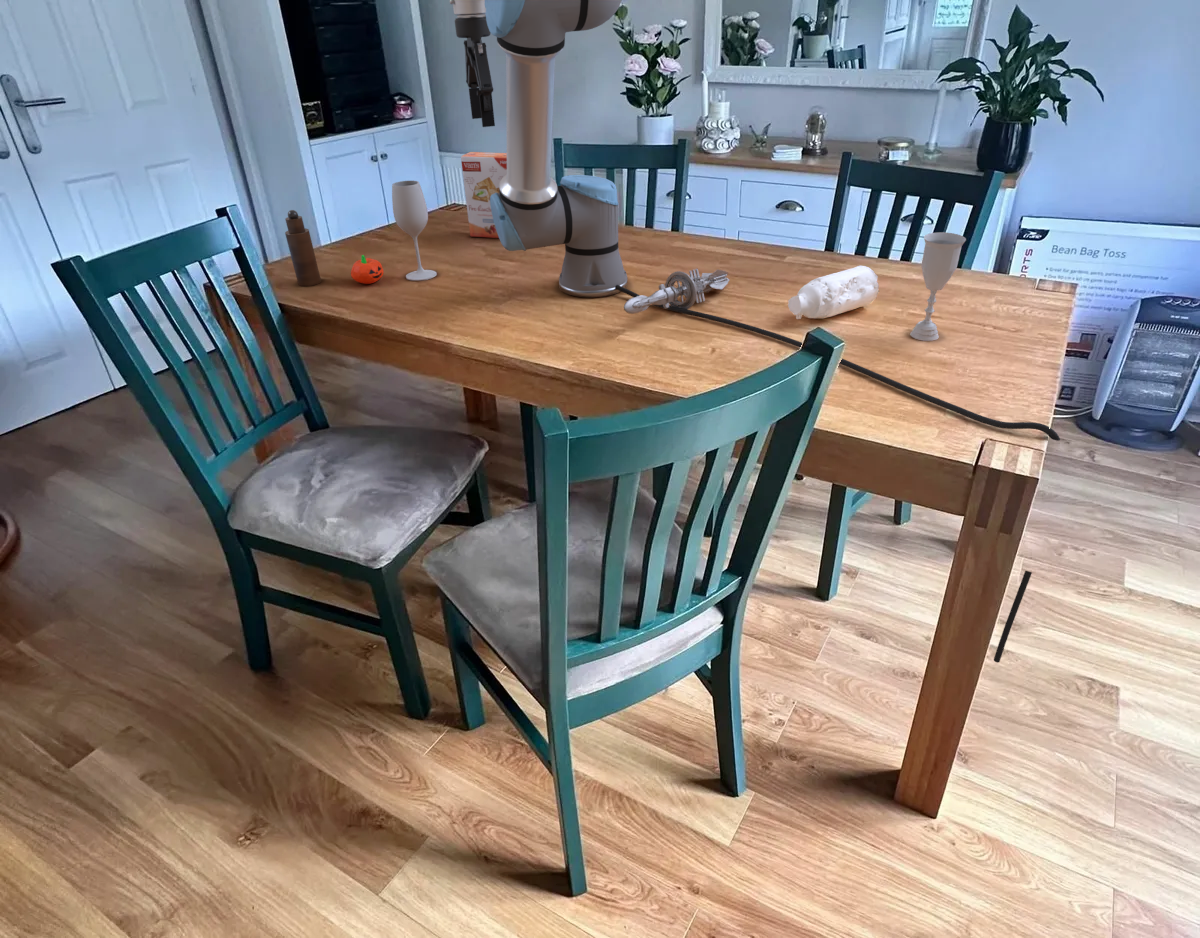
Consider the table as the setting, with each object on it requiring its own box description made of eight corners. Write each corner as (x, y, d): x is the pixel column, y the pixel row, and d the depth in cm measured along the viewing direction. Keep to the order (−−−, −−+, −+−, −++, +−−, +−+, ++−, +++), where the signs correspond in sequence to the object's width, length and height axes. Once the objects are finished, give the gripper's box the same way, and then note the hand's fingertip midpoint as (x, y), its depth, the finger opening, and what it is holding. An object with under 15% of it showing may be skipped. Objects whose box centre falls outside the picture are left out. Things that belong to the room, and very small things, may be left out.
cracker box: (469, 237, 207) (459, 155, 196) (478, 231, 212) (469, 151, 201) (517, 240, 203) (509, 156, 192) (526, 233, 208) (518, 152, 197)
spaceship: (604, 291, 145) (635, 283, 140) (707, 262, 169) (738, 254, 163) (614, 332, 147) (645, 326, 142) (715, 298, 171) (745, 291, 165)
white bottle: (777, 319, 151) (781, 280, 147) (846, 298, 159) (851, 261, 155) (806, 332, 146) (810, 291, 141) (876, 309, 153) (882, 271, 149)
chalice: (913, 325, 147) (932, 230, 137) (949, 333, 143) (971, 236, 133) (898, 337, 142) (917, 240, 132) (936, 346, 138) (957, 246, 128)
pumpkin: (387, 275, 183) (382, 248, 179) (381, 287, 176) (375, 259, 173) (357, 277, 183) (351, 250, 179) (350, 288, 176) (343, 261, 172)
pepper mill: (325, 281, 181) (308, 209, 172) (305, 287, 177) (286, 214, 168) (313, 277, 184) (296, 206, 175) (293, 283, 180) (275, 210, 171)
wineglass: (433, 280, 178) (418, 186, 167) (401, 281, 179) (384, 188, 167) (440, 270, 185) (426, 179, 173) (409, 271, 185) (393, 180, 174)
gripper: (446, 15, 176) (458, 116, 187) (463, 18, 156) (476, 131, 167) (478, 13, 178) (489, 113, 189) (499, 16, 157) (510, 128, 169)
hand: (483, 122), depth 178 cm, fingers open, 13 cm apart
